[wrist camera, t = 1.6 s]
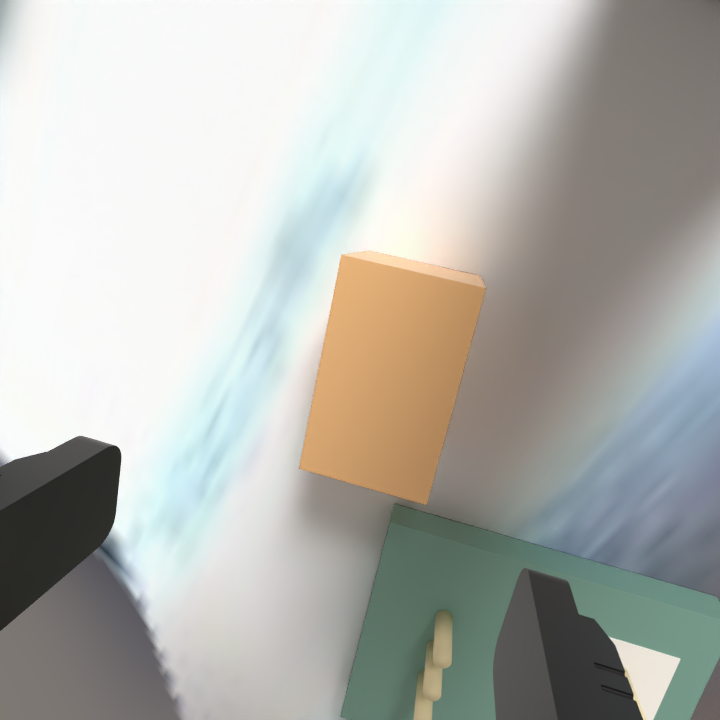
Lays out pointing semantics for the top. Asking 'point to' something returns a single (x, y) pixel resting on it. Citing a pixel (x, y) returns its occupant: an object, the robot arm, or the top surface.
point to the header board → (486, 615)
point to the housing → (390, 372)
